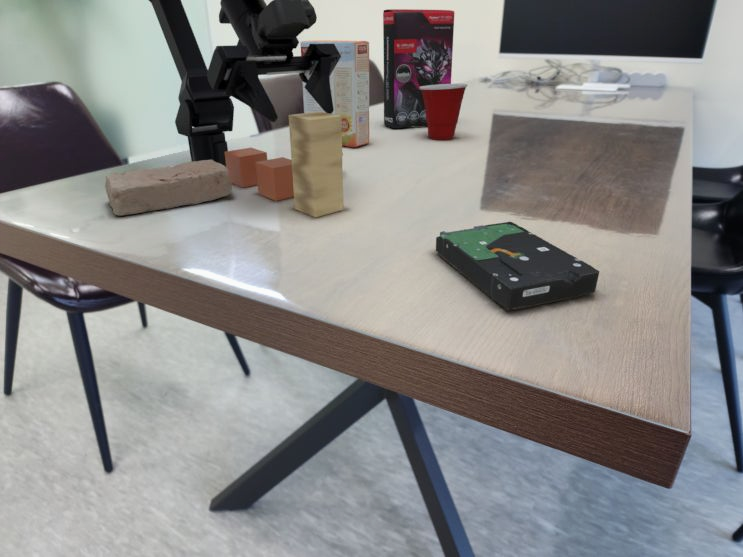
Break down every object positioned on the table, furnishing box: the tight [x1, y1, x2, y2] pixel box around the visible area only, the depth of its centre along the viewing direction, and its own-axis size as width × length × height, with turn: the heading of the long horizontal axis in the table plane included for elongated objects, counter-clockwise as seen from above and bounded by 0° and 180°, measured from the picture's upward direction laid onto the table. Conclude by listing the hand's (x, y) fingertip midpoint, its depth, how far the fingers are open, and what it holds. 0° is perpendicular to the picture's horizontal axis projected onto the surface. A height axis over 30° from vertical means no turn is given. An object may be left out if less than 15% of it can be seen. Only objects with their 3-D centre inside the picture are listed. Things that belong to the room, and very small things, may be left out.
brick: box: [104, 160, 233, 216], centre depth 75 cm, size 17×8×5 cm, turn 123°
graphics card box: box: [382, 8, 456, 129], centre depth 128 cm, size 17×7×27 cm, turn 115°
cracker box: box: [299, 39, 370, 148], centre depth 109 cm, size 14×6×21 cm, turn 58°
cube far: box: [225, 147, 268, 189], centre depth 84 cm, size 5×5×5 cm
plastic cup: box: [420, 83, 468, 141], centre depth 117 cm, size 11×11×12 cm
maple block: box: [288, 111, 344, 219], centre depth 69 cm, size 5×5×13 cm
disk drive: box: [435, 221, 600, 311], centre depth 53 cm, size 10×3×15 cm
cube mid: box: [255, 156, 294, 202], centre depth 78 cm, size 5×5×5 cm
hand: (304, 116), depth 68 cm, fingers open, 9 cm apart
